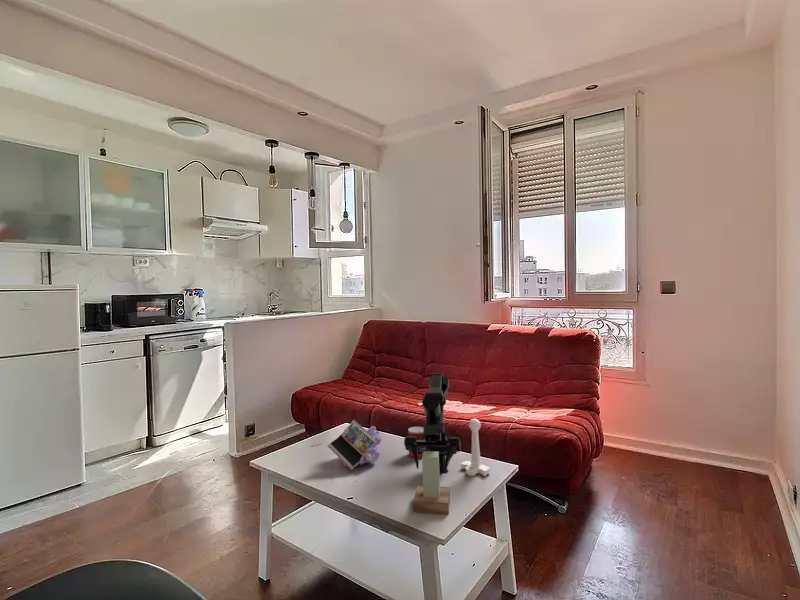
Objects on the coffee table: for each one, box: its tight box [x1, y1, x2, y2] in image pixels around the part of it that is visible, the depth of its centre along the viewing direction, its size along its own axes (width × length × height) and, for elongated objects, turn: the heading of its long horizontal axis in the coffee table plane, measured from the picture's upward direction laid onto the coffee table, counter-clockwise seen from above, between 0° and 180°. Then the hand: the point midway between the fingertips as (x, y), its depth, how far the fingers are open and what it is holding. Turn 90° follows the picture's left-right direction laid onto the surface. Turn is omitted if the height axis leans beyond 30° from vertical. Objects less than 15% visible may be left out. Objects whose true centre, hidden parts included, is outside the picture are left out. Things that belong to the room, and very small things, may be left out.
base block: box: [412, 485, 451, 515], centre depth 138 cm, size 11×11×4 cm
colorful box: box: [326, 419, 382, 471], centre depth 176 cm, size 20×22×18 cm
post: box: [421, 451, 441, 498], centre depth 138 cm, size 5×5×13 cm
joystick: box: [460, 418, 491, 477], centre depth 162 cm, size 11×8×20 cm
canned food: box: [407, 426, 427, 459], centre depth 181 cm, size 8×8×11 cm
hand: (431, 468), depth 139 cm, fingers open, 9 cm apart
